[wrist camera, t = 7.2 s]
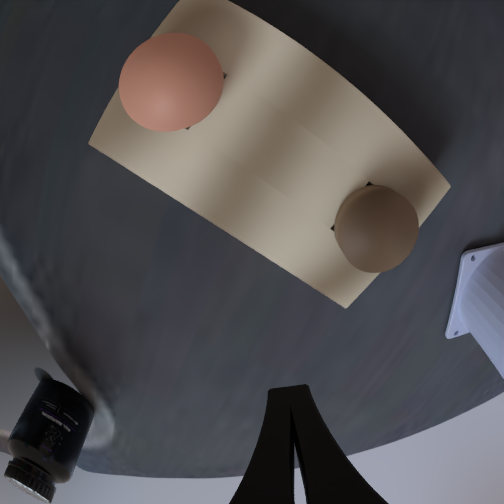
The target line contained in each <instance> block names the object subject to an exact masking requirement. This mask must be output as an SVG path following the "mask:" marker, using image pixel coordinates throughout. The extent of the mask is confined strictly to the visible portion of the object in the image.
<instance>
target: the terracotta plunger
mask: <svg viewBox="0 0 504 504" xmlns="http://www.w3.org/2000/svg"><path fill="white" fill-rule="evenodd" d="M223 86H224V75H223V70H222V67H221V64H220V62H219V60H218V58H217V57H216V55H215V53H214V52H213V50H212V49H211V48H210V47H209V46H208V45H207V44H206V43H205V42H203V41H202V40H200V39H199V38H196V37H194V36H192V35H188V34H184V33H166V34H161V35H158V36H155V37H153V38H151V39H149V40H147V41H145V42H144V43H142V44H141V45H140V46H138V47H137V48H136V49H135V50H134V51H133V52H132V53H131V55H130V56H129V57H128V59H127V61H126V62H125V64H124V66H123V69H122V71H121V75H120V80H119V94H120V99H121V102H122V105H123V107H124V109H125V111H126V112H127V114H128V115H129V116H130V117H131V118H132V119H133V120H134V121H135V122H136V123H138V124H139V125H141V126H143V127H145V128H147V129H150V130H154V131H160V132H171V131H177V130H181V129H184V128H187V127H190V126H193V125H195V124H197V123H199V122H200V121H202V120H203V119H204V118H206V117H207V116H208V115H209V114H210V113H211V112H212V111H213V109H214V108H215V107H216V105H217V104H218V102H219V100H220V97H221V95H222V91H223Z"/></svg>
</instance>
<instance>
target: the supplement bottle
mask: <svg viewBox="0 0 504 504" xmlns="http://www.w3.org/2000/svg"><path fill="white" fill-rule="evenodd" d="M93 417H94V413H93V410H92V407H91V405H90V404H89V402H88V401H87V400H86V399H85V398H84V397H83V396H82V395H81V394H80V393H78V392H77V391H76V390H74V389H73V388H71V387H70V386H68V385H66V384H64V383H62V382H59V381H56V380H49V379H48V380H43V381H41V382H40V383H39V384H38V386H37V387H36V389H35V391H34V393H33V394H32V396H31V398H30V399H29V401H28V403H27V405H26V406H25V408H24V410H23V412H22V414H21V416H20V417H19V419H18V421H17V423H16V425H15V427H14V429H13V431H12V433H11V435H10V437H9V439H8V448H9V451H10V453H11V455H12V456H13V461H9V463H8V467H7V469H6V471H5V474H4V476H5V478H6V479H7V480H8V481H10V482H11V483H12V484H13V485H15V486H16V487H18V488H19V489H21V490H22V491H24V492H26V493H27V494H29V495H31V496H32V497H34V498H36V499H38V500H41V501H43V502H46V503H51V501H52V499H53V496H54V493H55V492H56V488H55V484H56V483H65V482H67V481H69V480H70V479H71V476H72V474H73V472H74V469H75V466H76V463H77V460H78V458H79V455H80V452H81V449H82V447H83V444H84V441H85V439H86V436H87V434H88V431H89V429H90V426H91V423H92V420H93Z"/></svg>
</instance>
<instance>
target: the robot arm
mask: <svg viewBox="0 0 504 504" xmlns="http://www.w3.org/2000/svg"><path fill="white" fill-rule="evenodd" d="M472 256H473V257H472ZM471 257H472V258H471ZM469 332H470V333H471V334H472V335H473V337H474V338H475V339H476V341H477V342H478V343H479V345H480V346H481V347H482V349H483V350H484V351H485V353H486V354H487V356H488V357H489V358H490V360H491V361H492V363H493V364H494V365H495V367H496V368H497V370H498V371H499V373H500V374H501V376H502V377H503V379H504V242H503V243H499V244H495V245H490V246H486V247H481V248H477V249H472V250H468V251H465V252H464V253H463V254H462V257H461V262H460V268H459V274H458V279H457V285H456V290H455V295H454V299H453V304H452V308H451V313H450V317H449V321H448V325H447V329H446V333H445V336H446V337H447V339H451V338H454V337H457V336H460V335H463V334H466V333H469ZM294 443H295V447H296V452H297V457H298V462H299V466H300V471H301V476H302V480H303V485H304V489H305V495H306V503H307V504H388V503H387V502H386V501H385V500H384V499H383V498H382V497H381V496H380V495H379V494H378V493H377V492H376V491H375V490H374V489H373V488H372V487H371V486H370V485H369V484H368V483H367V482H366V481H365V479H364V478H363V477H362V476H361V475H360V474H359V472H358V471H357V470H356V469H355V467H354V466H353V465H352V464H351V462H350V461H349V460H348V458H347V457H346V456H345V454H344V453H343V451H342V450H341V448H340V447H339V445H338V444H337V442H336V441H335V439H334V438H333V436H332V434H331V433H330V431H329V429H328V428H327V426H326V424H325V423H324V421H323V419H322V417H321V415H320V413H319V411H318V409H317V407H316V404H315V402H314V400H313V397H312V395H311V392H310V389H309V386H308V385H306V384H304V385H297V386H289V387H281V388H273V389H270V390H269V391H268V399H267V406H266V412H265V416H264V421H263V425H262V428H261V432H260V435H259V439H258V442H257V445H256V448H255V450H254V453H253V456H252V458H251V461H250V463H249V466H248V468H247V470H246V473H245V475H244V477H243V479H242V481H241V483H240V485H239V487H238V489H237V491H236V492H235V494H234V496H233V498H232V500H231V501H230V503H229V504H295V502H294Z"/></svg>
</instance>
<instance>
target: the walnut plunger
mask: <svg viewBox="0 0 504 504" xmlns="http://www.w3.org/2000/svg"><path fill="white" fill-rule="evenodd" d="M418 232H419V221H418V216H417V213H416V210H415V208H414V207H413V205H412V204H411V203H410V202H409V201H408V200H407V199H406V198H405V197H403V196H402V195H400V194H399V193H397V192H396V191H394V190H392V189H391V188H389V187H386V186H382V185H369V186H365V187H362V188H360V189H358V190H356V191H354V192H353V193H351V194H350V195H349V196H348V197H347V198H346V199H345V200H344V202H343V203H342V204H341V206H340V208H339V210H338V212H337V214H336V218H335V223H334V233H335V238H336V241H337V243H338V245H339V247H340V249H341V250H342V252H343V254H344V255H345V257H346V259H347V260H348V261H349V263H350V264H351V265H353V266H354V267H355V268H357V269H359V270H361V271H364V272H368V273H380V272H384V271H387V270H390V269H392V268H394V267H396V266H397V265H399V264H400V263H401V262H403V261H404V260H405V259H406V258H407V256H408V255H409V254H410V253H411V251H412V249H413V248H414V245H415V243H416V240H417V237H418Z"/></svg>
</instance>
